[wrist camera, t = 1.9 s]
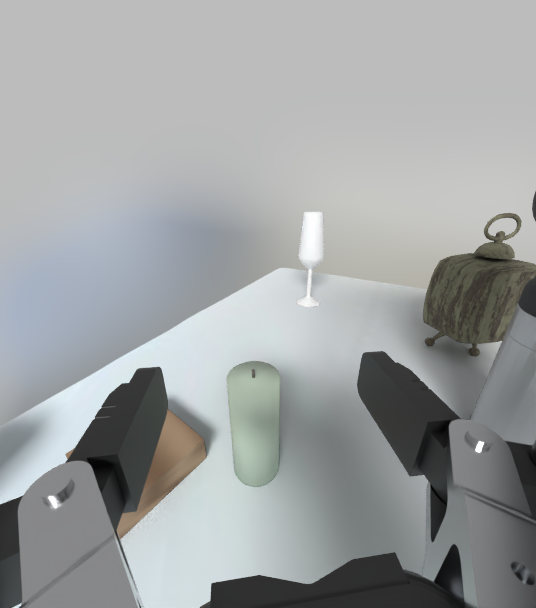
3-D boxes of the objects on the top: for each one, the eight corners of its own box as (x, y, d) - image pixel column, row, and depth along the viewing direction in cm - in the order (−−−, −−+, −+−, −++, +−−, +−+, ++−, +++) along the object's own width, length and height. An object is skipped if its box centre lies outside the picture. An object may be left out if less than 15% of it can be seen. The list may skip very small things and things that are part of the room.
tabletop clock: (471, 334, 55) (514, 211, 45) (517, 358, 47) (582, 214, 37) (414, 342, 52) (446, 212, 42) (452, 369, 44) (504, 216, 34)
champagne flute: (292, 304, 70) (296, 212, 61) (300, 296, 76) (304, 211, 67) (316, 308, 68) (323, 213, 58) (322, 299, 73) (330, 211, 64)
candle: (254, 436, 32) (251, 349, 27) (287, 459, 29) (290, 367, 24) (224, 467, 28) (214, 373, 23) (259, 497, 25) (256, 397, 20)
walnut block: (159, 415, 35) (155, 398, 34) (206, 457, 29) (203, 438, 28) (74, 473, 28) (65, 454, 26) (114, 544, 22) (106, 524, 21)
